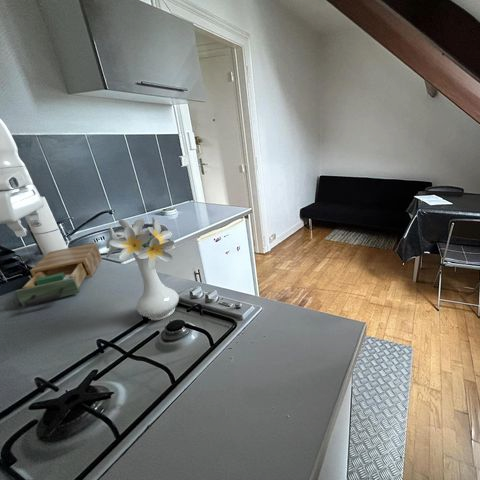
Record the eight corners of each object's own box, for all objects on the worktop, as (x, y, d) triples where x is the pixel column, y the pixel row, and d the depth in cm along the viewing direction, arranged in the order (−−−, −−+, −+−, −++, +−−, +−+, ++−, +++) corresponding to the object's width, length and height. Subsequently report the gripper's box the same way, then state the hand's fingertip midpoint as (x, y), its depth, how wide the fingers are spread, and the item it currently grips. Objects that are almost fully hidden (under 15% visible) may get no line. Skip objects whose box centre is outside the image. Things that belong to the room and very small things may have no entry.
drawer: (75, 300, 74) (68, 286, 72) (14, 315, 69) (5, 300, 67) (91, 270, 92) (86, 258, 90) (44, 281, 86) (37, 268, 84)
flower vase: (166, 339, 59) (130, 236, 50) (117, 319, 66) (79, 227, 57) (210, 306, 70) (188, 216, 60) (164, 292, 77) (138, 211, 68)
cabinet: (92, 276, 89) (85, 259, 87) (39, 288, 83) (29, 270, 81) (102, 258, 104) (96, 243, 101) (57, 267, 98) (49, 251, 95)
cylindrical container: (43, 265, 100) (11, 202, 90) (55, 258, 106) (26, 197, 97) (65, 262, 101) (35, 199, 92) (75, 255, 108) (49, 195, 99)
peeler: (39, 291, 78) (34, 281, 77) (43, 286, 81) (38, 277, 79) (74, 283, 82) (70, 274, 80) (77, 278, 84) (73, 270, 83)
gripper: (8, 176, 73) (30, 223, 78) (-38, 186, 56) (-6, 245, 61) (38, 174, 76) (58, 219, 81) (3, 183, 59) (31, 239, 64)
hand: (30, 230), depth 71 cm, fingers open, 8 cm apart
